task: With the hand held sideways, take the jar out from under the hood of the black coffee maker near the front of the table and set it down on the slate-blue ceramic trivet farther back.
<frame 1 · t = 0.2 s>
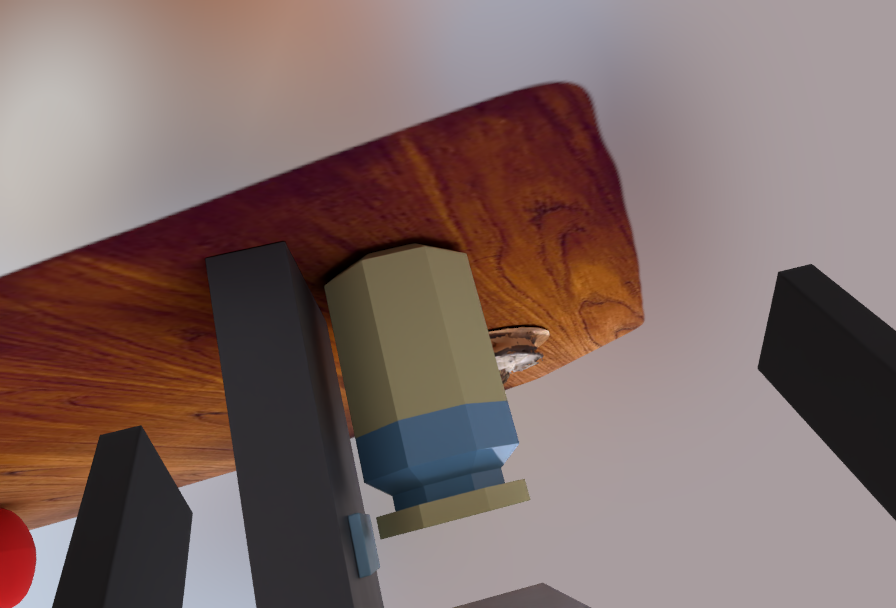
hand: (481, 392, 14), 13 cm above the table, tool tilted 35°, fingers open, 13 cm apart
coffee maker: (395, 268, 40), on the table
jar: (394, 266, 41), on the table
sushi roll: (475, 350, 67), on the table
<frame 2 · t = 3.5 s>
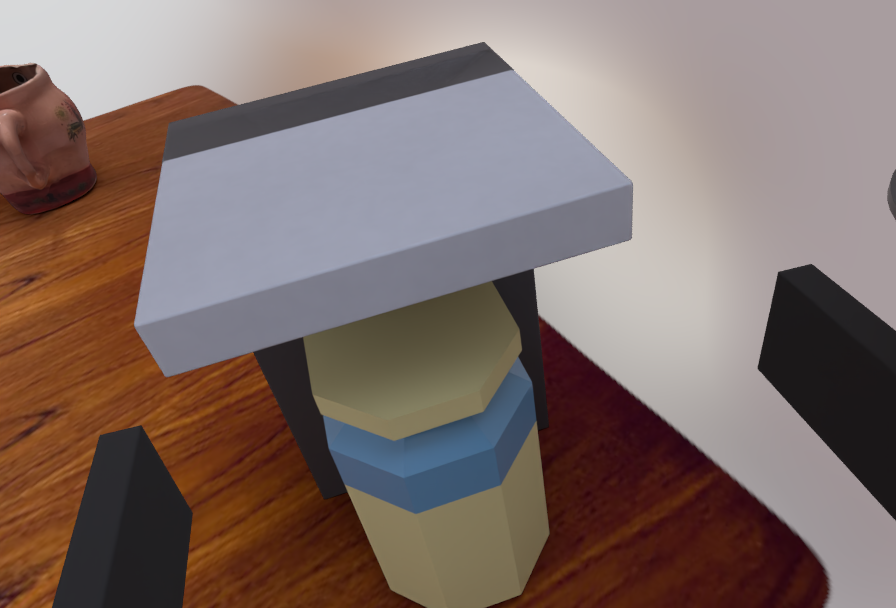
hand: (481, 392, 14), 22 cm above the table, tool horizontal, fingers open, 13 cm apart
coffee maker: (463, 539, 35), on the table
jar: (463, 541, 35), on the table
pink ceramic mug: (62, 199, 77), on the table
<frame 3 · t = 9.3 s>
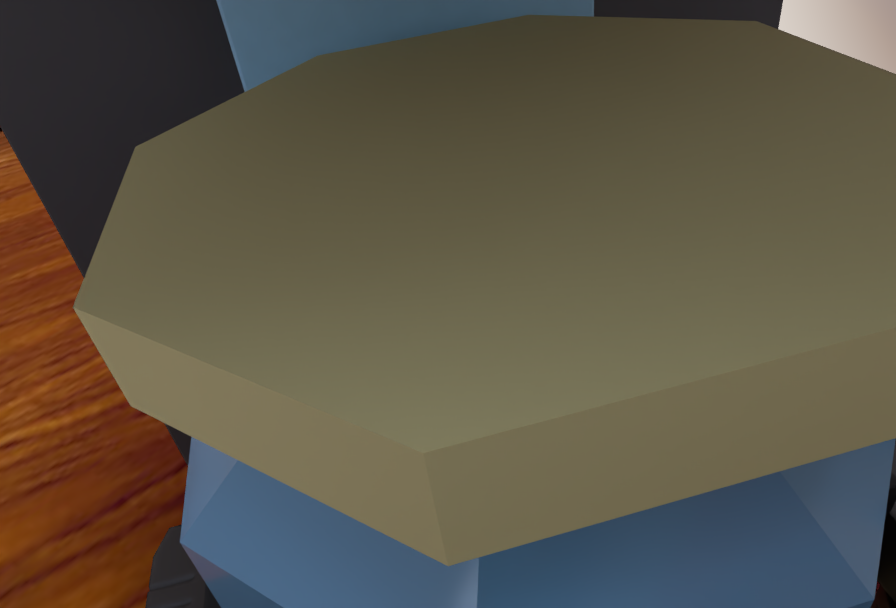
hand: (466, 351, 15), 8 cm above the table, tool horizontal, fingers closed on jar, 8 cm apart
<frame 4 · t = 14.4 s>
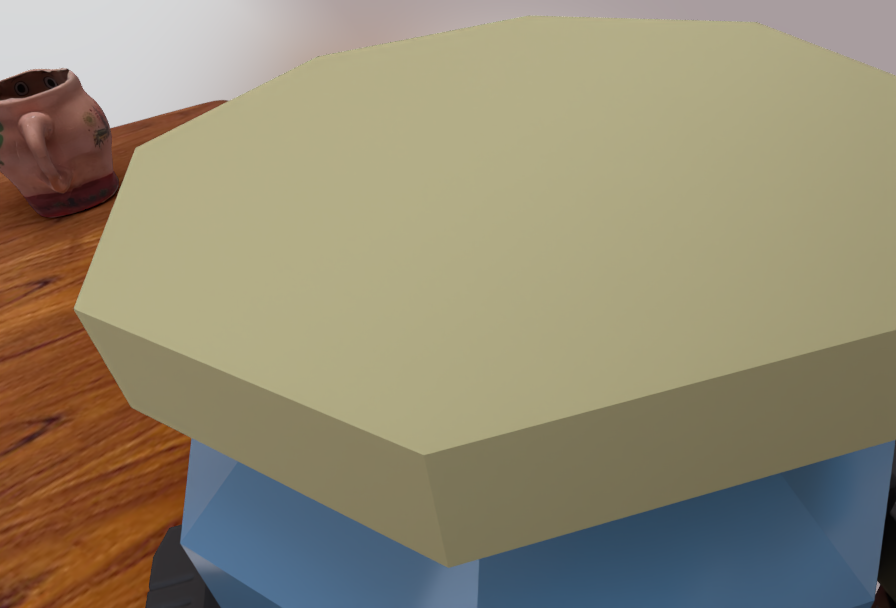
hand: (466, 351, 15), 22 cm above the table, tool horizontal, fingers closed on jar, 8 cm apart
pink ceramic mug: (83, 204, 77), on the table
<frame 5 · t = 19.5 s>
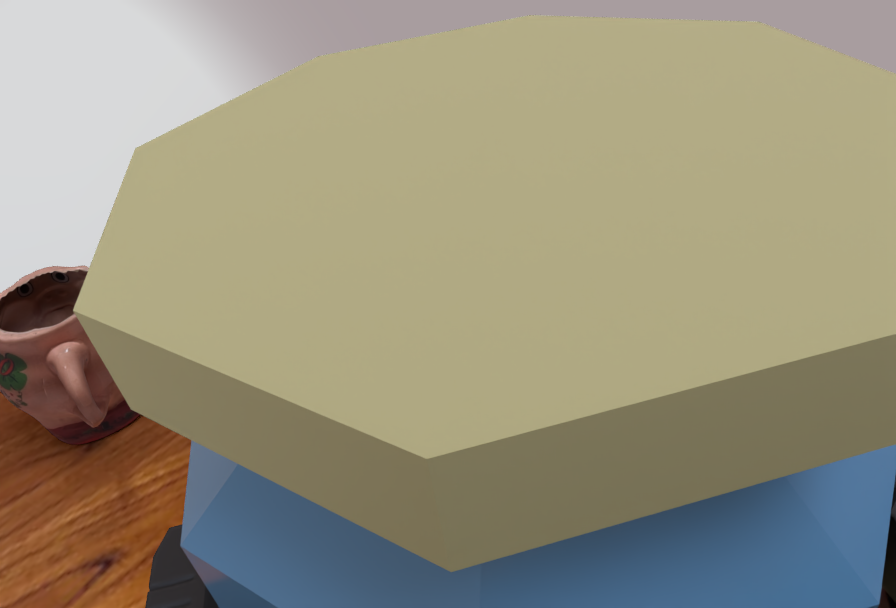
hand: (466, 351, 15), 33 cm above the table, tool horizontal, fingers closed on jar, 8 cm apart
pink ceramic mug: (112, 417, 64), on the table
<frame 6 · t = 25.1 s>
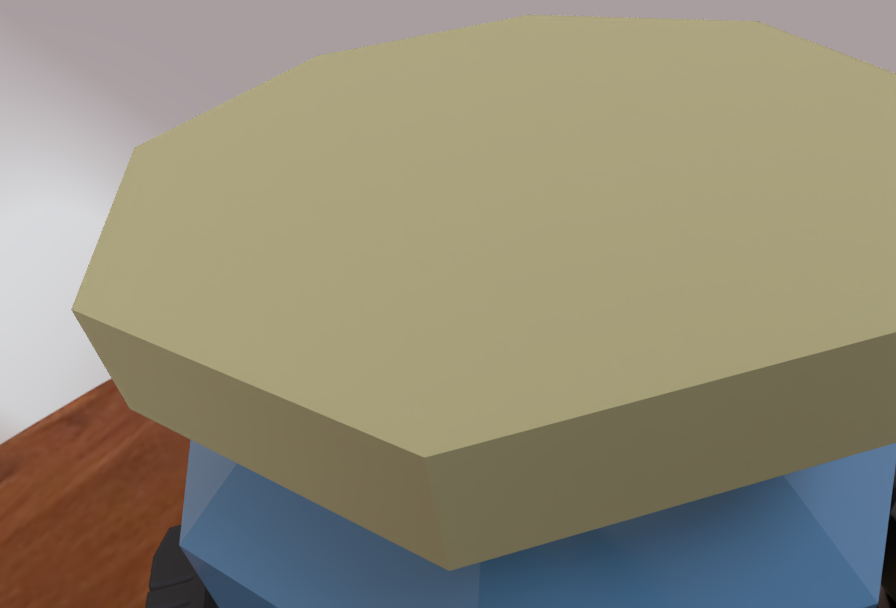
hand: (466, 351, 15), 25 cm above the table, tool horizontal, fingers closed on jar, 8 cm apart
when the fingers open (9 cm above the table, at t = 29.9 s): jar stays where it is, resting on trivet.
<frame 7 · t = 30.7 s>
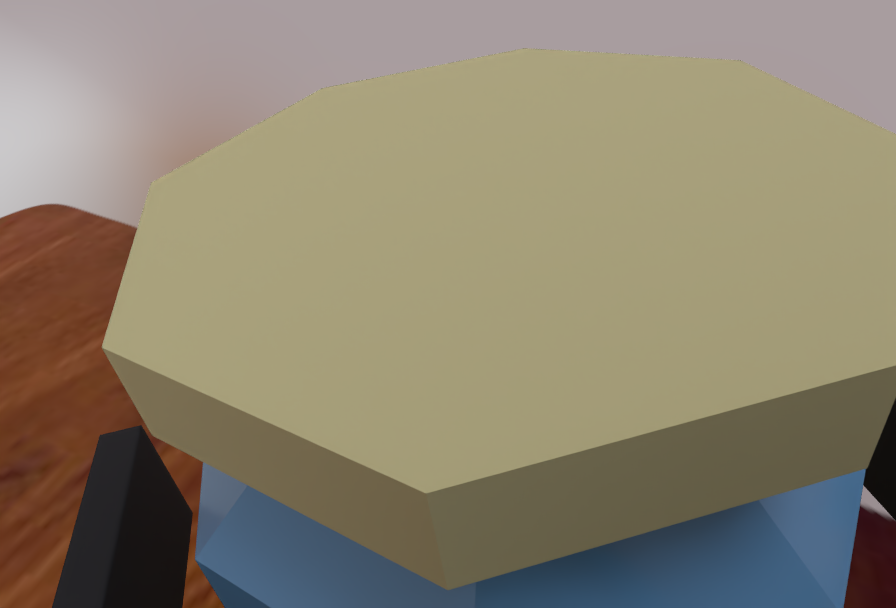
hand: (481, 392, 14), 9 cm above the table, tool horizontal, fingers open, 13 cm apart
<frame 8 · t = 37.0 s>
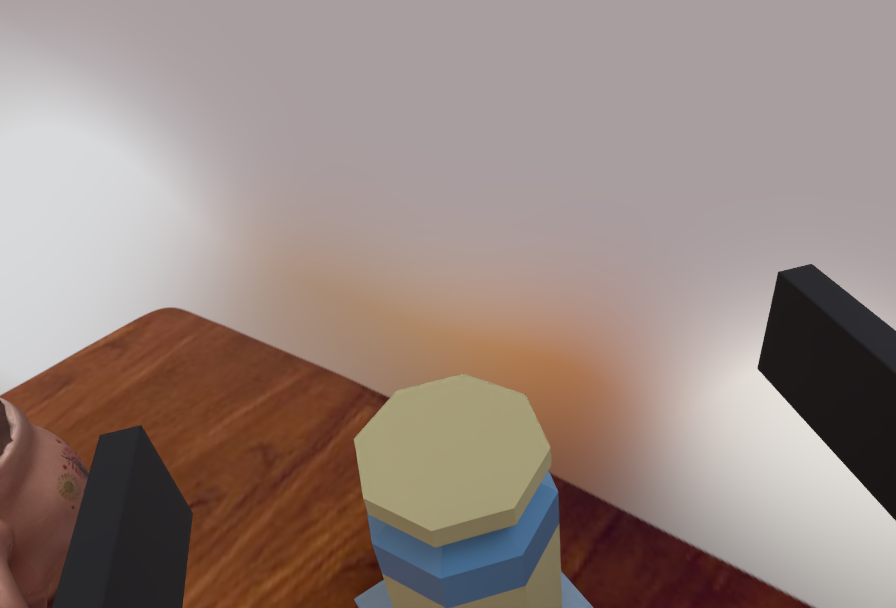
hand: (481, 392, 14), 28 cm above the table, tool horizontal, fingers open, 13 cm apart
pink ceramic mug: (47, 602, 43), on the table
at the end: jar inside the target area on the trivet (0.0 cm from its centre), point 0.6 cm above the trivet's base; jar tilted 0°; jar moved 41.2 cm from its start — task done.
